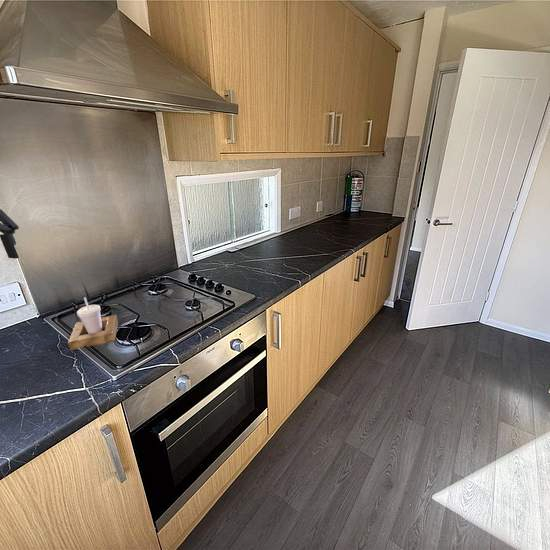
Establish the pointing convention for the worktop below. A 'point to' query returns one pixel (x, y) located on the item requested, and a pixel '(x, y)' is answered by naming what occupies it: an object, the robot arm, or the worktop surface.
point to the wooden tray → (93, 334)
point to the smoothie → (91, 317)
